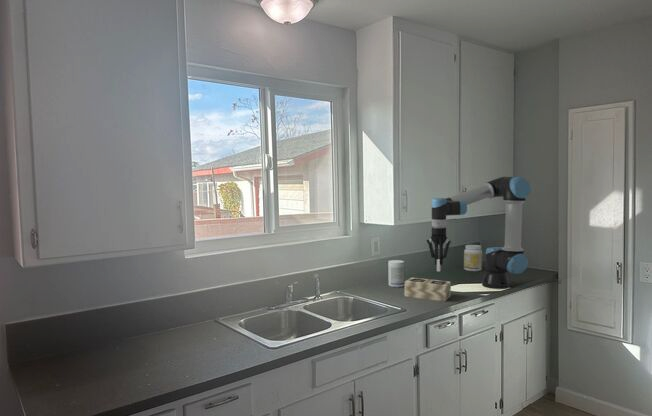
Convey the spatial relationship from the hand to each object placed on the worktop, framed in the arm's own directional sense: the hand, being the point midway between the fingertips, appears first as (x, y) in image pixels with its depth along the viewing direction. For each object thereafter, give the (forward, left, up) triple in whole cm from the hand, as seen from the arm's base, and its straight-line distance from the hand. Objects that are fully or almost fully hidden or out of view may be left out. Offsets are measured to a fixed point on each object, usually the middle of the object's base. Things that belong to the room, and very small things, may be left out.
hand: (438, 270), depth 248 cm
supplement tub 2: (-2, -86, -15) cm, 87 cm away
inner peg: (0, 0, -14) cm, 14 cm away
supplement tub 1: (+29, -15, -15) cm, 35 cm away
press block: (+6, 0, -14) cm, 16 cm away
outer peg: (+11, 0, -14) cm, 18 cm away
